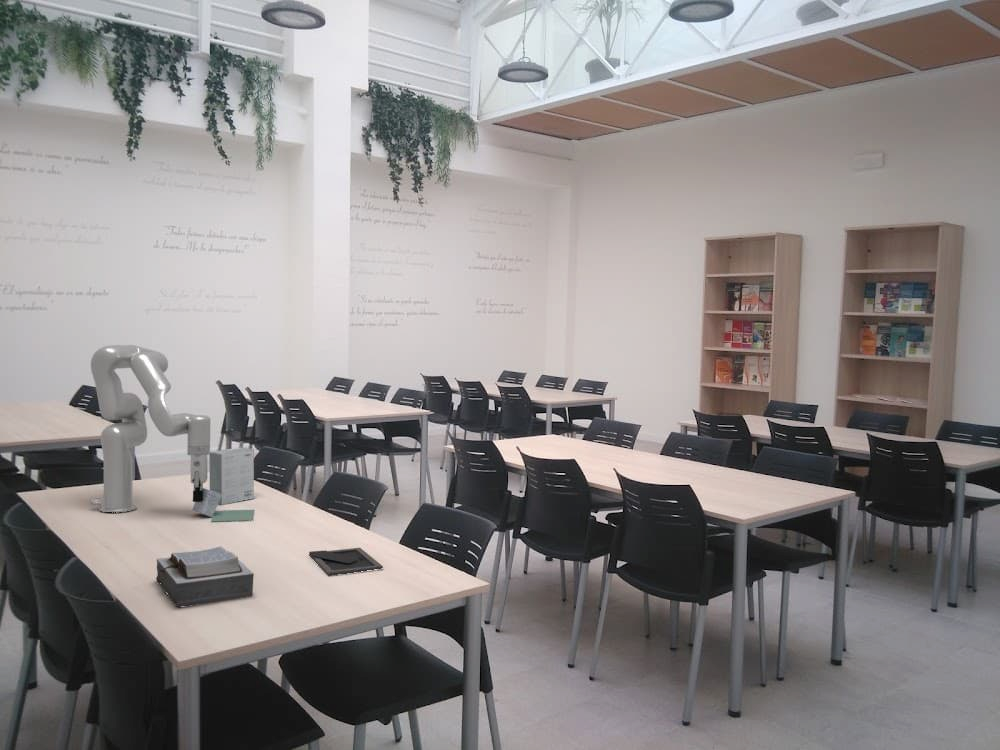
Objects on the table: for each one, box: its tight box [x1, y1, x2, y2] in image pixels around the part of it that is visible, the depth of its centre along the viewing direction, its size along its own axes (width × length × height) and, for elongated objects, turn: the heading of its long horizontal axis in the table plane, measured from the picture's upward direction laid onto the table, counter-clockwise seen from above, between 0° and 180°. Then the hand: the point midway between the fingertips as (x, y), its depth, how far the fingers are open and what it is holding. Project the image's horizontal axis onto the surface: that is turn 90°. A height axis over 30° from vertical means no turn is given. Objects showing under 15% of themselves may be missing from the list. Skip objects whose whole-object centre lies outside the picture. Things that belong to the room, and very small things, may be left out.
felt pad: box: [210, 509, 255, 523], centre depth 289 cm, size 14×16×1 cm
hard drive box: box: [208, 447, 255, 506], centre depth 313 cm, size 16×8×20 cm, turn 144°
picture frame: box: [308, 547, 384, 577], centre depth 238 cm, size 16×2×21 cm
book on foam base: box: [155, 546, 255, 608], centre depth 212 cm, size 23×27×10 cm
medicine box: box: [191, 487, 222, 518], centre depth 289 cm, size 8×4×9 cm, turn 47°
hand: (197, 501), depth 286 cm, fingers closed
